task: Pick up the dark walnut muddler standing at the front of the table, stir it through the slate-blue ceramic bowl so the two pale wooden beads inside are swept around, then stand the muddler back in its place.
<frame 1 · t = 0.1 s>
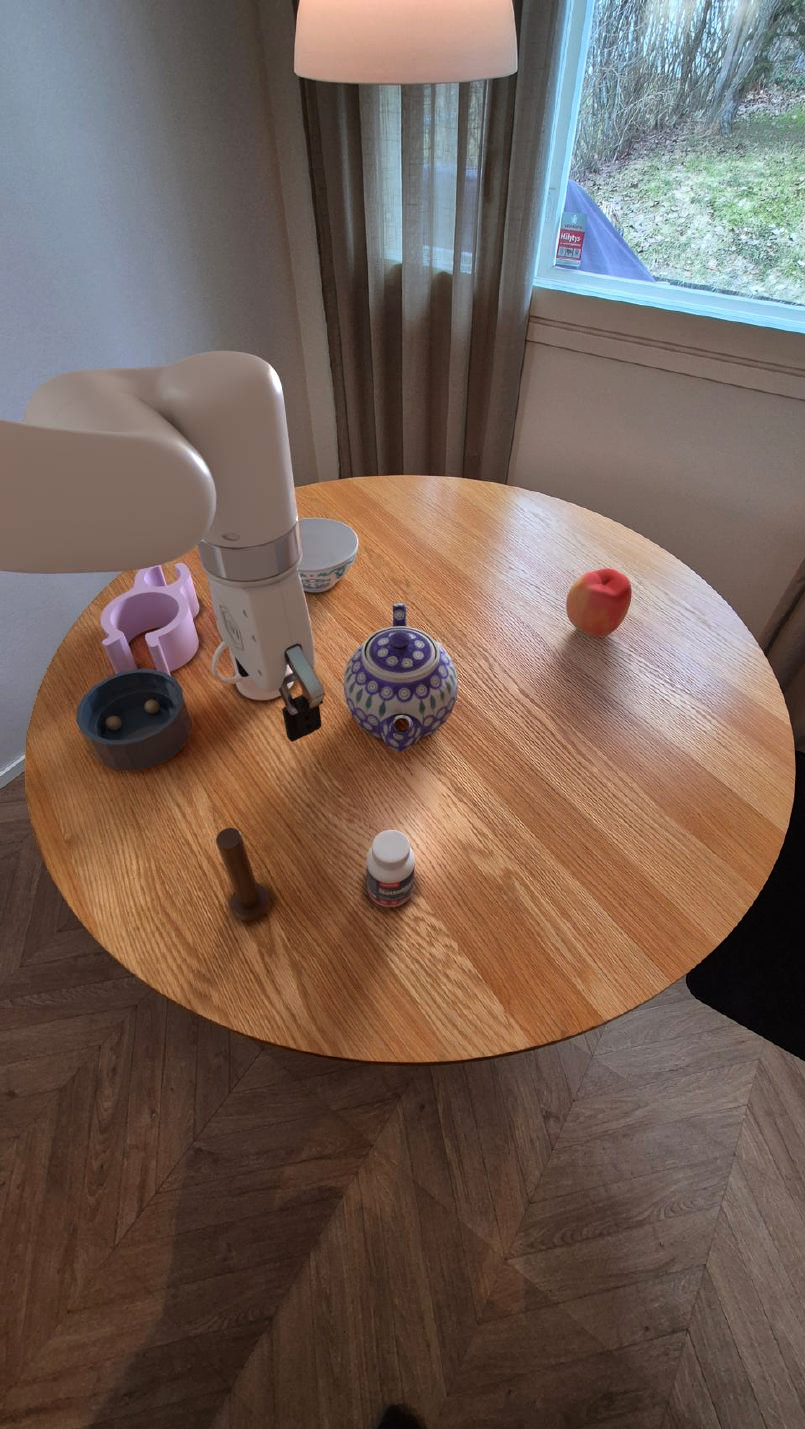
hand: (279, 700, 62), 24 cm above the table, tool pointing down, fingers open, 9 cm apart
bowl: (143, 734, 90), on the table
apple: (591, 630, 106), on the table
mug: (256, 685, 97), on the table
clip: (162, 637, 104), on the table
bead a: (152, 706, 92), point 2 cm above the table, touching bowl
pill bottle: (390, 887, 76), on the table
teapot: (400, 716, 93), on the table
bead b: (113, 723, 90), point 2 cm above the table, touching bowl
chinaware: (316, 581, 114), on the table
muddler: (251, 904, 74), on the table
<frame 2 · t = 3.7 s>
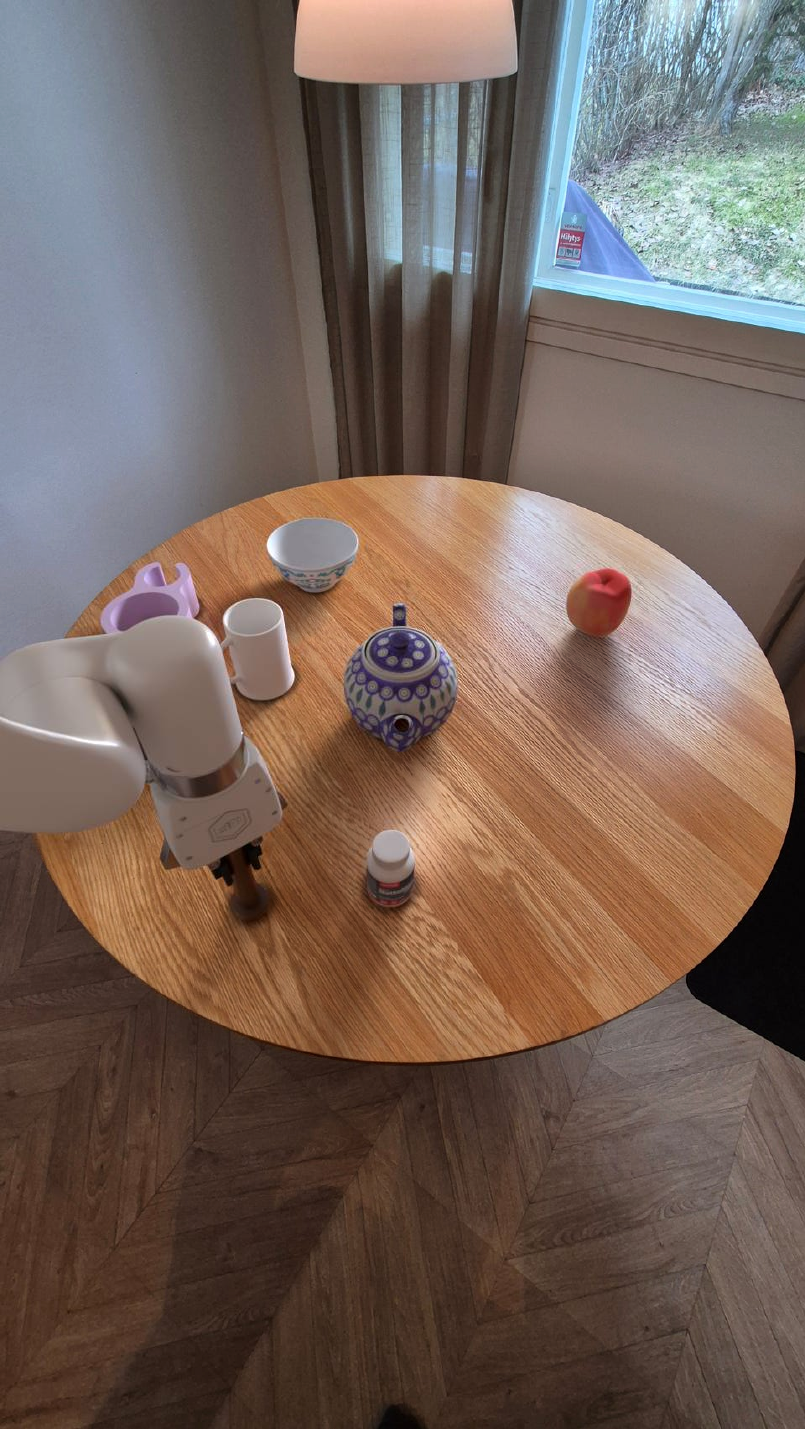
hand: (238, 866, 67), 9 cm above the table, tool pointing down, fingers closed on muddler, 2 cm apart
muddler: (251, 904, 74), on the table, touching gripper
everything else where it was.
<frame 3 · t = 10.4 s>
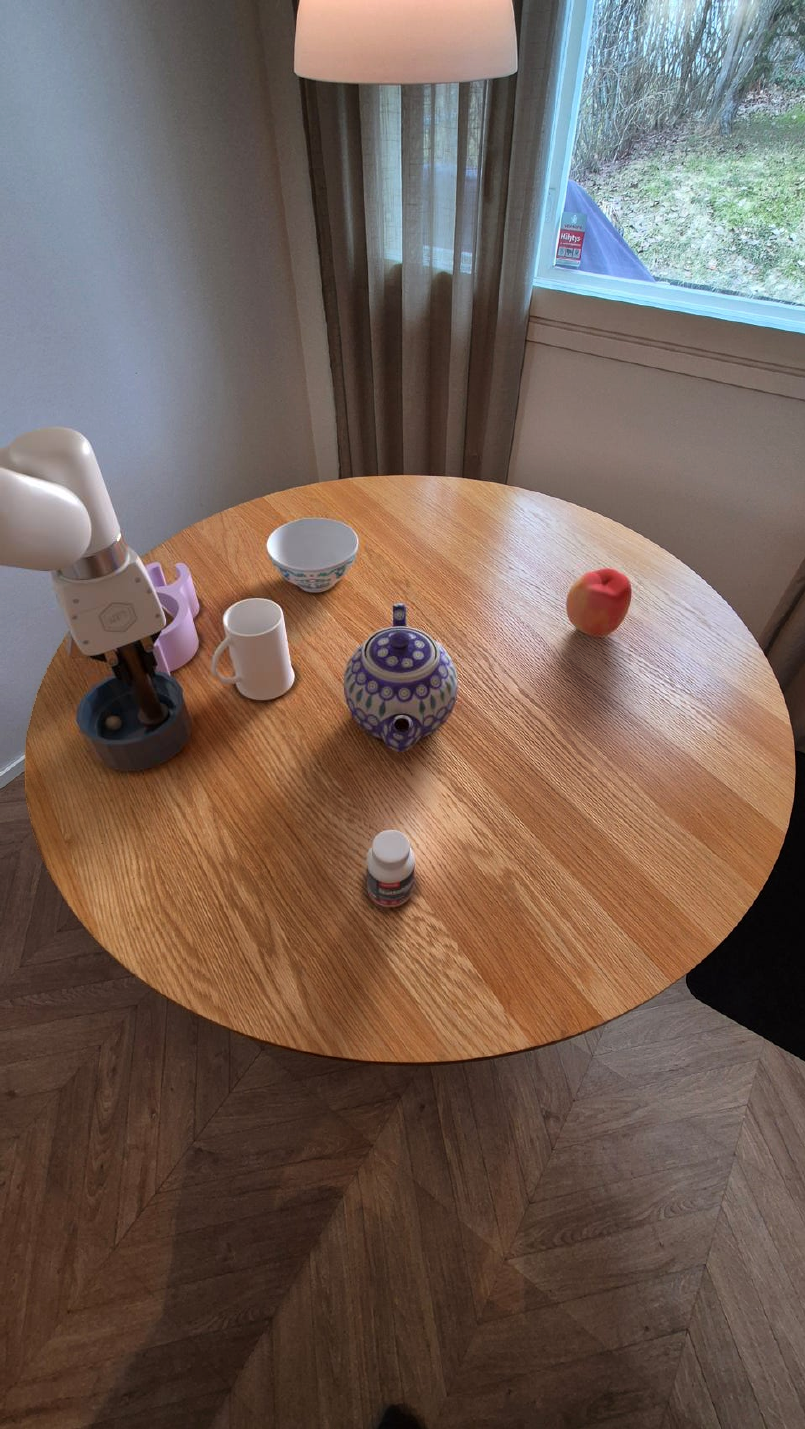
hand: (138, 674, 84), 10 cm above the table, tool pointing down, fingers closed on muddler, 2 cm apart
bead a: (152, 704, 92), point 2 cm above the table, tilted 18°, touching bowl, muddler
muddler: (156, 720, 90), point 2 cm above the table, touching bead a, gripper
everything else where it was.
when the fingers open (9 cm above the table, at t = 19.7 s): muddler stays where it is, on the table.
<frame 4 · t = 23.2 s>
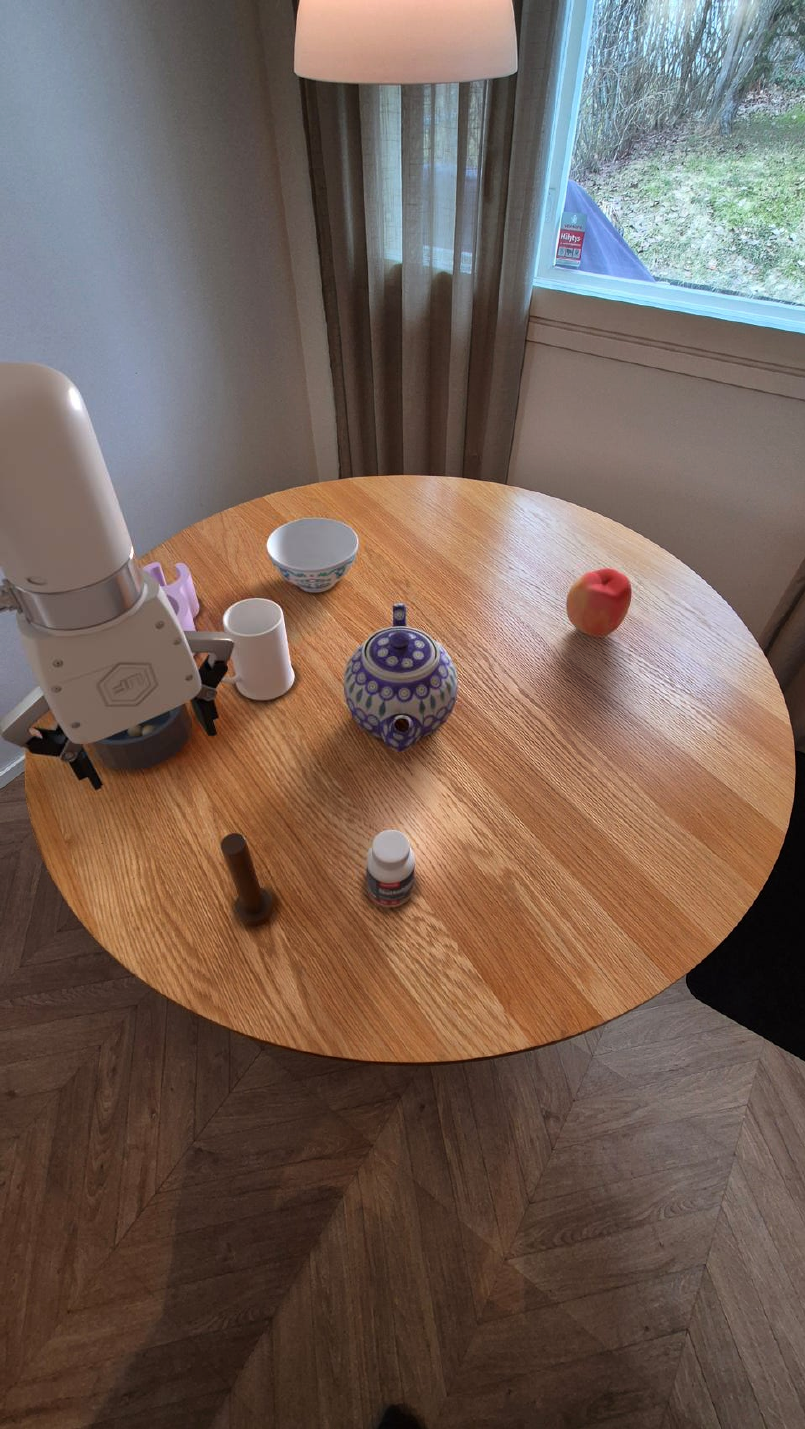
hand: (152, 750, 55), 26 cm above the table, tool pointing down, fingers open, 9 cm apart
bead a: (134, 731, 89), point 2 cm above the table, tilted 85°, touching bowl
bead b: (149, 732, 88), point 2 cm above the table, tilted 95°, touching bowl
muddler: (255, 909, 73), on the table
everything else where it was.
at the end: bead a moved 4.7 cm from its start; bead a inside the target area in the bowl (0.9 cm from its centre), point 1.6 cm above the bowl's base; muddler tilted 0° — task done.
